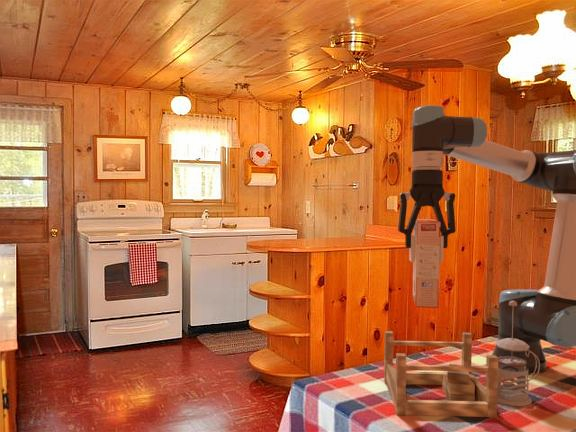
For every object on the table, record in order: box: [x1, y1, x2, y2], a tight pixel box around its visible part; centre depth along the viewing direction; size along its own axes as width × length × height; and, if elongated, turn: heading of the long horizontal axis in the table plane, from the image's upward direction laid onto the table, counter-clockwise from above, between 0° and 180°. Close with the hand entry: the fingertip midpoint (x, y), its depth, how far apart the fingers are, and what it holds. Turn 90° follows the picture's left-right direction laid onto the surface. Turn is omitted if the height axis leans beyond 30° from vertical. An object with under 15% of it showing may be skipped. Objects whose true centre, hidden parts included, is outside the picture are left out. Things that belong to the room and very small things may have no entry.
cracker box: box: [412, 218, 441, 309], centre depth 131 cm, size 14×6×21 cm, turn 168°
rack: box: [383, 330, 498, 418], centre depth 132 cm, size 23×22×14 cm
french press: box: [494, 301, 540, 407], centre depth 132 cm, size 10×12×25 cm
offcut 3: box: [441, 382, 476, 401], centre depth 133 cm, size 6×9×2 cm, turn 176°
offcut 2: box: [443, 373, 475, 395], centre depth 133 cm, size 6×8×2 cm
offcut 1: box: [447, 363, 469, 385], centre depth 133 cm, size 5×7×2 cm
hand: (426, 261), depth 131 cm, fingers closed on cracker box, 6 cm apart
